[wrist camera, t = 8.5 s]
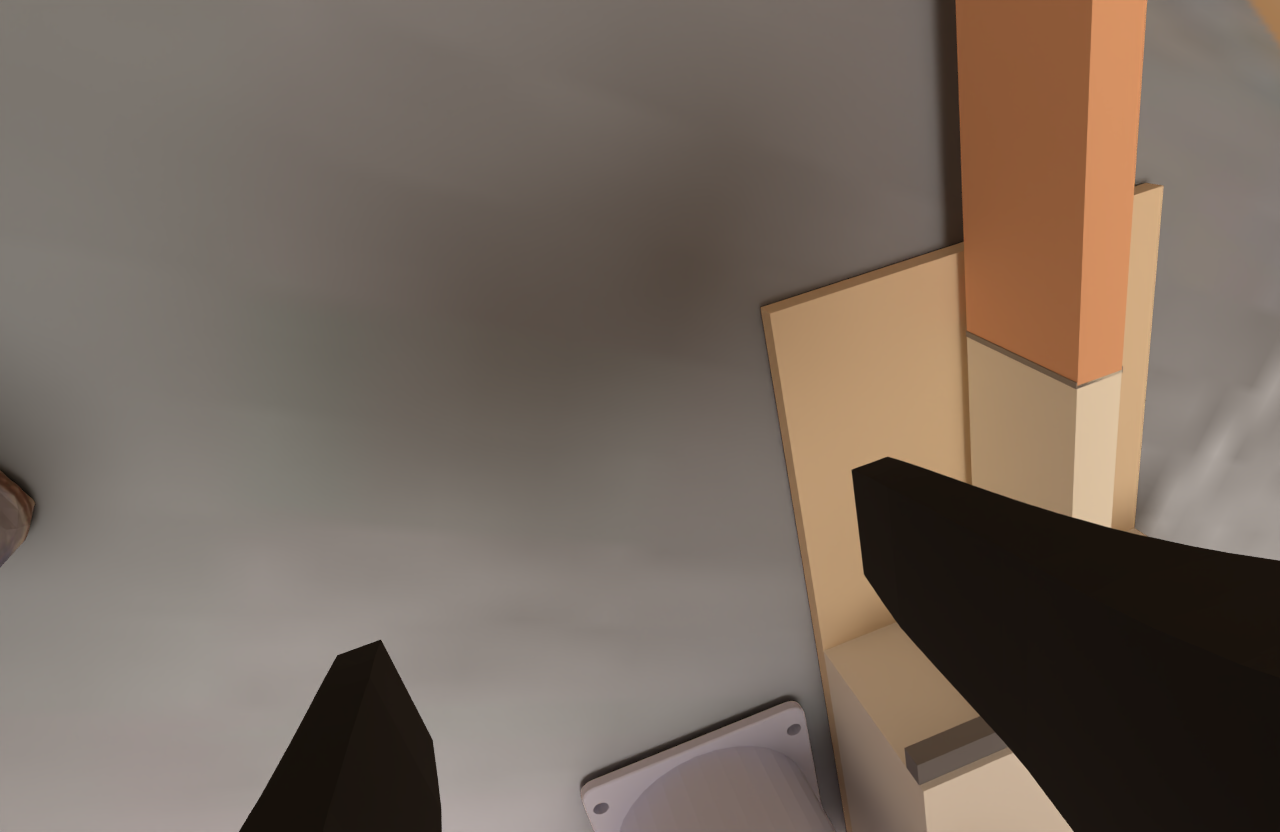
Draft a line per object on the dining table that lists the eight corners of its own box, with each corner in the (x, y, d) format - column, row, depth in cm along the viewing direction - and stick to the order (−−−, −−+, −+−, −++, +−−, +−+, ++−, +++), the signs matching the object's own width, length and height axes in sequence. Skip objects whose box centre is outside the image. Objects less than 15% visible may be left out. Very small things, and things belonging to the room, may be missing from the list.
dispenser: (1104, 728, 33) (1244, 861, 27) (848, 839, 31) (942, 1005, 25) (1145, 183, 22) (1387, 220, 17) (760, 307, 20) (888, 394, 15)
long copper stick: (1007, 546, 25) (1105, 624, 22) (973, 559, 25) (1066, 640, 21) (1001, -213, 16) (1168, -292, 12) (947, -200, 16) (1101, -277, 12)
